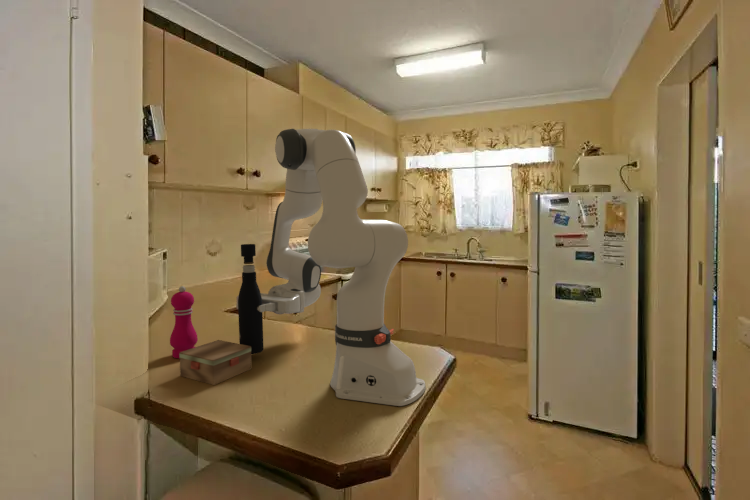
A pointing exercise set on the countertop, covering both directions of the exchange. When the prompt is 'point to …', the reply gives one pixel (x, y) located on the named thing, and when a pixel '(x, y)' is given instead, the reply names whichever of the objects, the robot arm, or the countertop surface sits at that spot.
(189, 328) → the pepper mill
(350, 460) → the countertop surface
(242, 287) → the black bottle
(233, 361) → the wooden box
